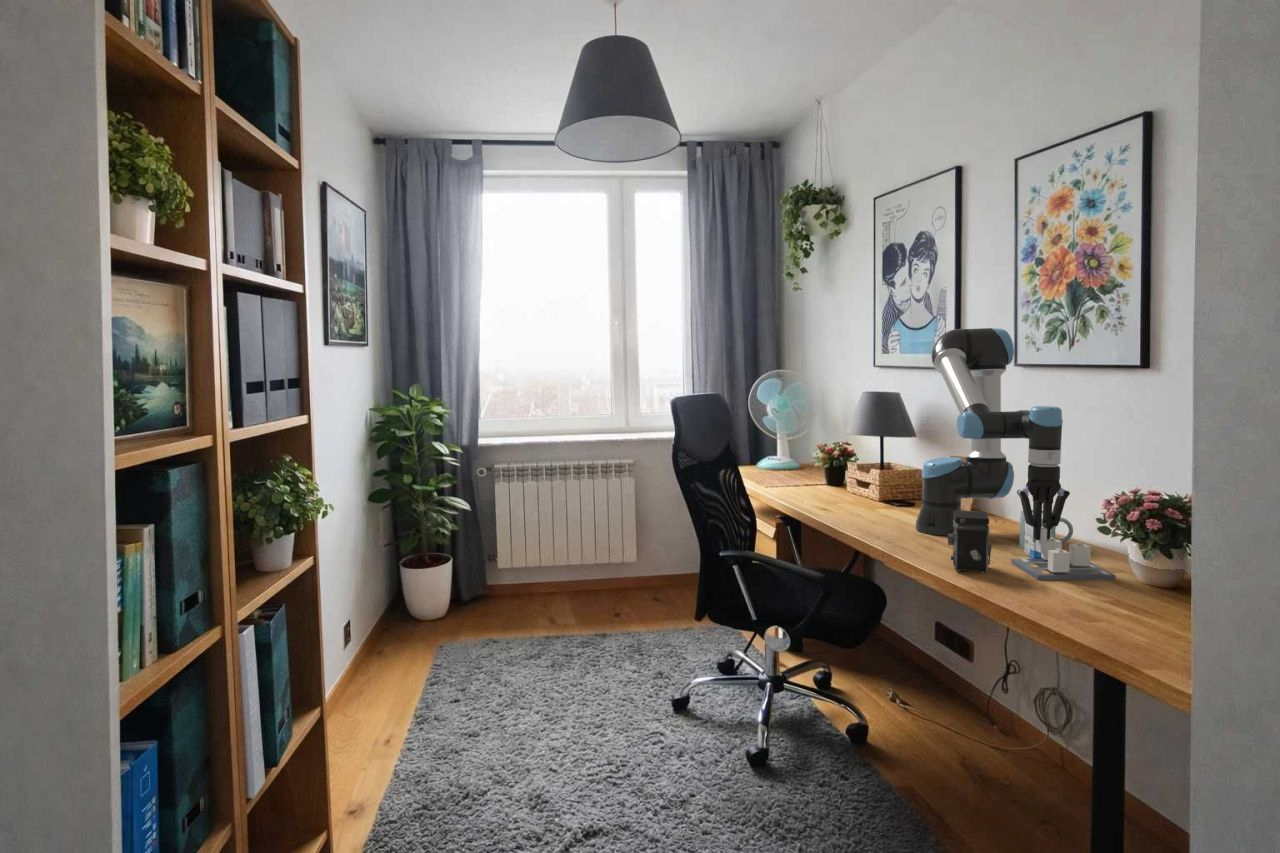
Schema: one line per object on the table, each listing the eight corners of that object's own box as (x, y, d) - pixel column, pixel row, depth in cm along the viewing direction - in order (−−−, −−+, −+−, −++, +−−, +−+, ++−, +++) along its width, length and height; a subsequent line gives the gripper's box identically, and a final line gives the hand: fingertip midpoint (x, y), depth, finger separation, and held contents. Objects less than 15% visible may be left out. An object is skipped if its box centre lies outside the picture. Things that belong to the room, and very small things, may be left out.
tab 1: (1041, 557, 199) (1041, 537, 198) (1056, 557, 199) (1057, 536, 198) (1045, 559, 196) (1046, 539, 196) (1061, 559, 196) (1062, 539, 196)
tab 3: (1068, 563, 193) (1069, 542, 193) (1084, 563, 193) (1085, 542, 192) (1073, 565, 191) (1074, 544, 190) (1089, 565, 190) (1090, 544, 190)
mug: (1021, 549, 214) (1022, 515, 213) (1017, 541, 222) (1019, 509, 221) (1075, 553, 208) (1076, 518, 207) (1069, 545, 217) (1071, 512, 216)
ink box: (1052, 561, 201) (1054, 519, 200) (1032, 560, 202) (1034, 518, 201) (1042, 552, 210) (1043, 512, 209) (1023, 552, 211) (1024, 511, 210)
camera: (987, 564, 200) (989, 509, 198) (992, 575, 190) (994, 518, 188) (946, 561, 203) (947, 507, 202) (948, 572, 193) (950, 516, 192)
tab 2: (1047, 569, 188) (1048, 547, 188) (1063, 569, 188) (1064, 547, 187) (1052, 572, 186) (1053, 550, 185) (1069, 572, 185) (1070, 550, 185)
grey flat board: (1011, 563, 200) (1011, 557, 200) (1083, 562, 199) (1083, 557, 199) (1037, 579, 185) (1037, 573, 185) (1115, 579, 184) (1115, 573, 184)
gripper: (1025, 467, 192) (1022, 555, 194) (1076, 466, 191) (1073, 555, 193) (1012, 462, 199) (1009, 548, 202) (1062, 462, 198) (1059, 548, 201)
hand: (1041, 551), depth 197 cm, fingers closed
